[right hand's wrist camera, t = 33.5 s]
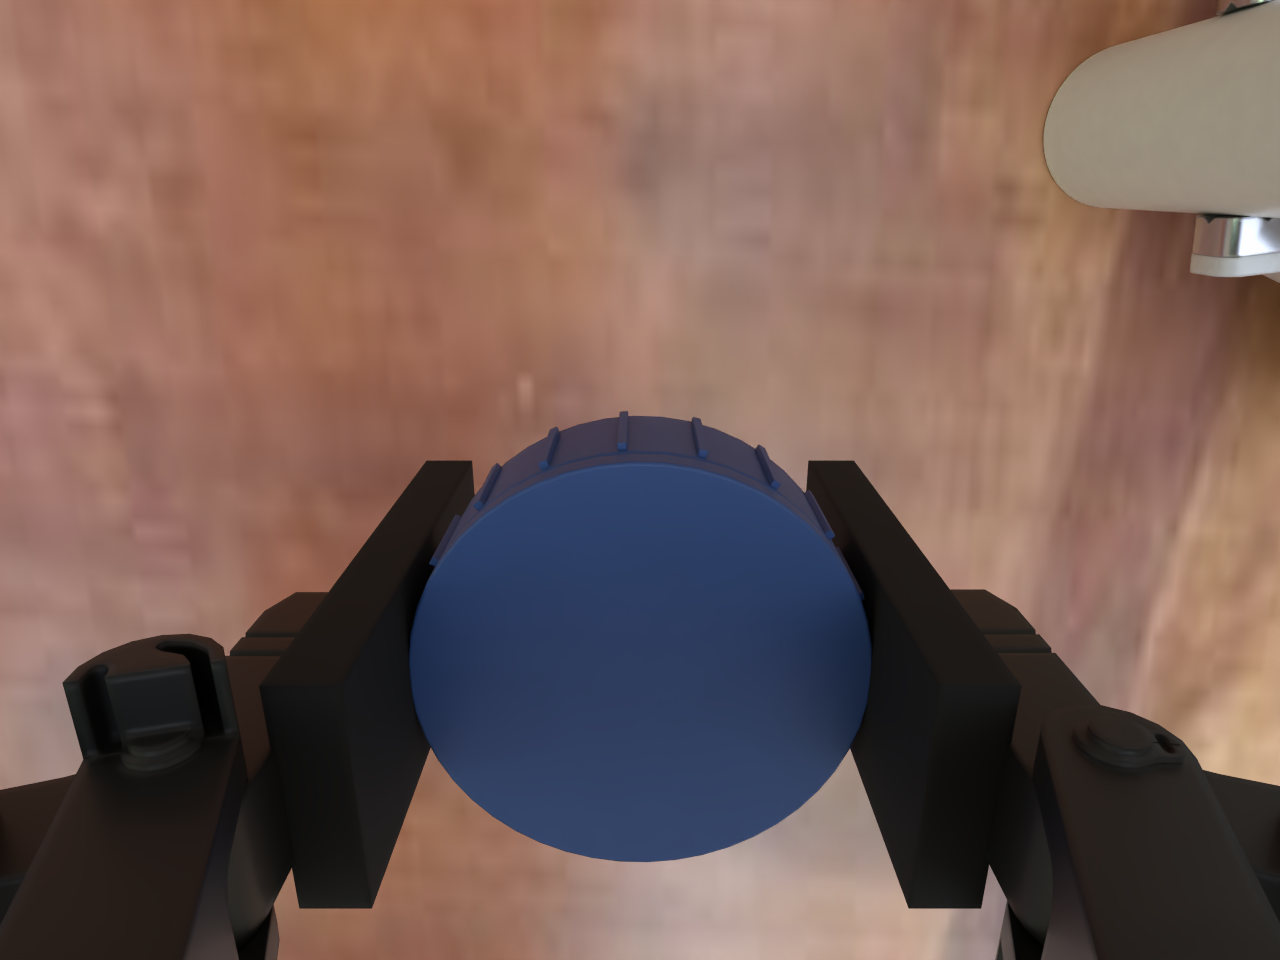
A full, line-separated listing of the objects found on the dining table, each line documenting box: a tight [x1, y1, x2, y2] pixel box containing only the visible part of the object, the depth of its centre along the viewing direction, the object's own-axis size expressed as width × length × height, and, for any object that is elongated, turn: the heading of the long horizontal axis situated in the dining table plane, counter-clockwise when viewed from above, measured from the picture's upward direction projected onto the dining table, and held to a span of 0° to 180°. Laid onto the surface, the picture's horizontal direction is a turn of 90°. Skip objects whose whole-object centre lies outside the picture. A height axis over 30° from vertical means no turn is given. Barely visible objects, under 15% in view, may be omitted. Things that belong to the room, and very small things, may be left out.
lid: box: [409, 411, 872, 862], centre depth 11 cm, size 6×6×2 cm
